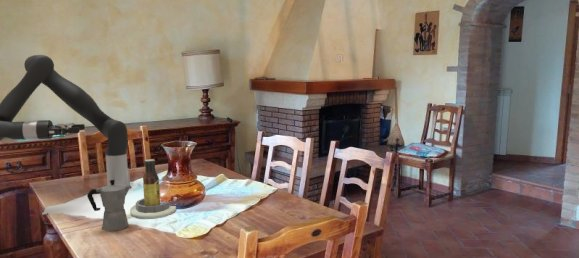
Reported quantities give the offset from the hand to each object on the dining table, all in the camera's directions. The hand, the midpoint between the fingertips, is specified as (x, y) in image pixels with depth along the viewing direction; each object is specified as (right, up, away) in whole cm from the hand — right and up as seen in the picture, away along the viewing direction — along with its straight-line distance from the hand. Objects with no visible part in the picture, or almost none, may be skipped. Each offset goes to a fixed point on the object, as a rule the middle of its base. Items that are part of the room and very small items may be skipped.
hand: (81, 128), depth 183 cm
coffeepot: (+18, -37, -15) cm, 44 cm away
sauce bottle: (+28, -33, +3) cm, 43 cm away
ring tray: (+28, -34, +3) cm, 44 cm away
